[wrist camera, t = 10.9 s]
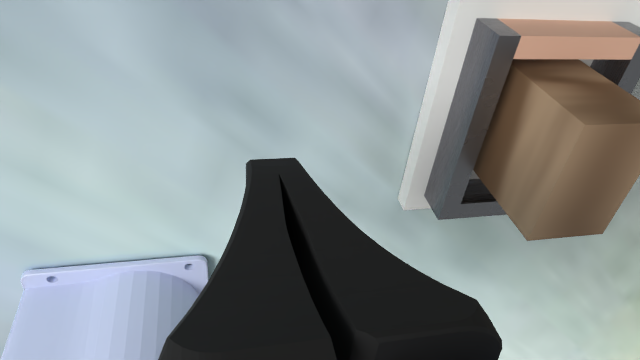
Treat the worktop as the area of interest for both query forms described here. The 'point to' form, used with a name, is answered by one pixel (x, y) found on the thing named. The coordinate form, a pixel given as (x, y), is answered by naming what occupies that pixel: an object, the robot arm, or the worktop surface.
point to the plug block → (560, 148)
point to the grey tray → (502, 84)
